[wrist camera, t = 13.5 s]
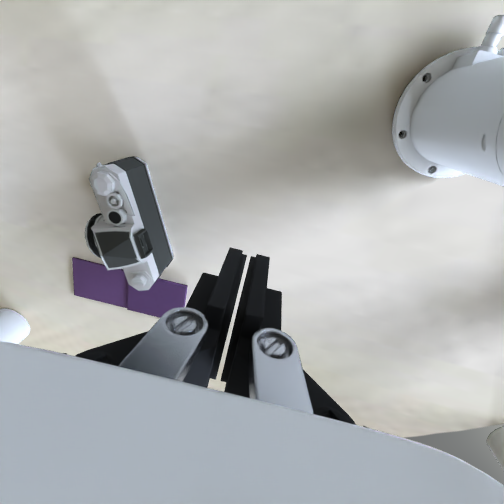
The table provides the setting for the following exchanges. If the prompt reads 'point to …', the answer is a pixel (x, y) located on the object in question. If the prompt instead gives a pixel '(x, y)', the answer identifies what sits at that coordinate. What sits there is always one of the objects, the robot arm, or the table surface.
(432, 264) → the table surface
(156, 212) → the camera
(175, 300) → the purple flat rectangular piece
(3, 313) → the gray bottle
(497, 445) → the travel mug
